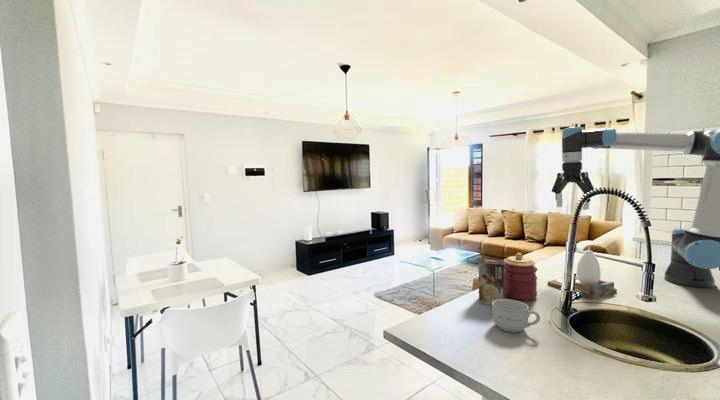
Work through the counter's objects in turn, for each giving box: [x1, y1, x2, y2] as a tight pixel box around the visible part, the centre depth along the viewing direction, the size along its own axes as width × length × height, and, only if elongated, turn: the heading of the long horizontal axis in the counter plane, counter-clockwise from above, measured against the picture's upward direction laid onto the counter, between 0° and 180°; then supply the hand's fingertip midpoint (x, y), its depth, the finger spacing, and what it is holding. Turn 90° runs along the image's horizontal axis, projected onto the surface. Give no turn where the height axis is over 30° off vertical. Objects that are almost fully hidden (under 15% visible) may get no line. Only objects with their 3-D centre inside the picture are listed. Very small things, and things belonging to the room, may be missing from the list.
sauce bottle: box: [576, 244, 602, 286], centre depth 131 cm, size 8×8×18 cm
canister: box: [503, 252, 538, 303], centre depth 129 cm, size 13×13×18 cm
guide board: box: [547, 276, 618, 300], centre depth 135 cm, size 16×18×4 cm
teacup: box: [491, 298, 541, 333], centre depth 102 cm, size 14×11×8 cm
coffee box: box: [478, 258, 505, 306], centre depth 124 cm, size 9×6×16 cm
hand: (572, 208), depth 147 cm, fingers open, 13 cm apart
